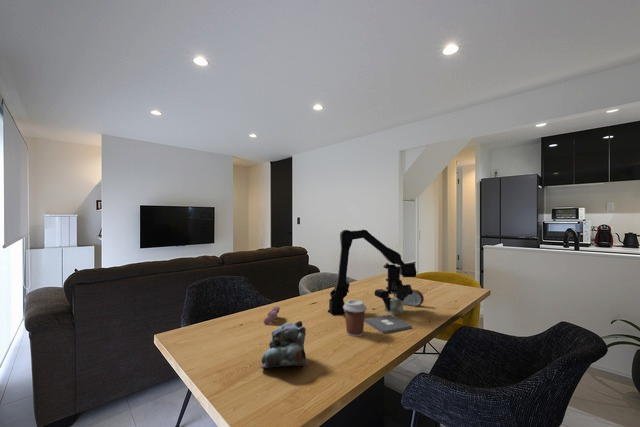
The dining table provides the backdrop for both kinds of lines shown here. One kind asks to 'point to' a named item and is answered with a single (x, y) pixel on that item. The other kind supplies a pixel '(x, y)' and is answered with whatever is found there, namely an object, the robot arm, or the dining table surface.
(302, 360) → the lucky cat figurine
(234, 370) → the dining table surface
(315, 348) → the dining table surface
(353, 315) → the coffee cup
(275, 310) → the pink frog figurine
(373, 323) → the gray board
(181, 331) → the dining table surface
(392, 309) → the sage block
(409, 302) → the tin
